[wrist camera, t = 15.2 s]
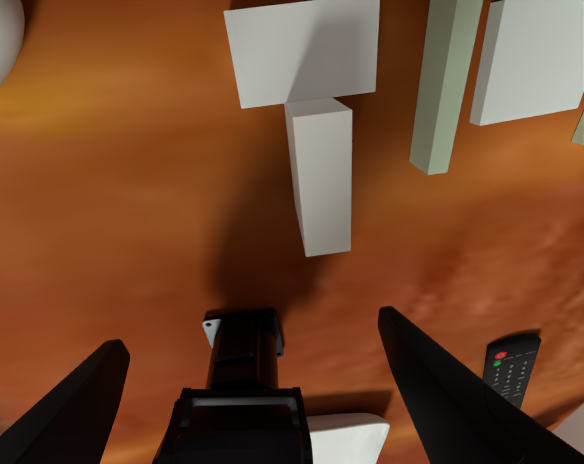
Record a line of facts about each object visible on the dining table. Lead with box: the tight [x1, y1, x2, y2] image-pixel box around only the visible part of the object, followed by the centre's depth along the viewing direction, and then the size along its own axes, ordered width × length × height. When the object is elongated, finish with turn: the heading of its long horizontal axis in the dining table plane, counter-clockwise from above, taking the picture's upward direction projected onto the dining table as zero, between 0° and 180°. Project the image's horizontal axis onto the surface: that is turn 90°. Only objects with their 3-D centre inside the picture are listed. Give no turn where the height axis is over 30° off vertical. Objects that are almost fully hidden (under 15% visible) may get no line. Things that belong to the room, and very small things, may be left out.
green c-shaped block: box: [409, 0, 584, 175], centre depth 15 cm, size 10×12×2 cm
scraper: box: [224, 0, 380, 257], centre depth 15 cm, size 11×7×6 cm, turn 6°
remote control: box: [483, 333, 541, 409], centre depth 37 cm, size 5×24×1 cm, turn 16°
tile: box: [469, 0, 584, 126], centre depth 16 cm, size 6×6×2 cm
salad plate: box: [306, 413, 390, 464], centre depth 39 cm, size 21×21×3 cm
